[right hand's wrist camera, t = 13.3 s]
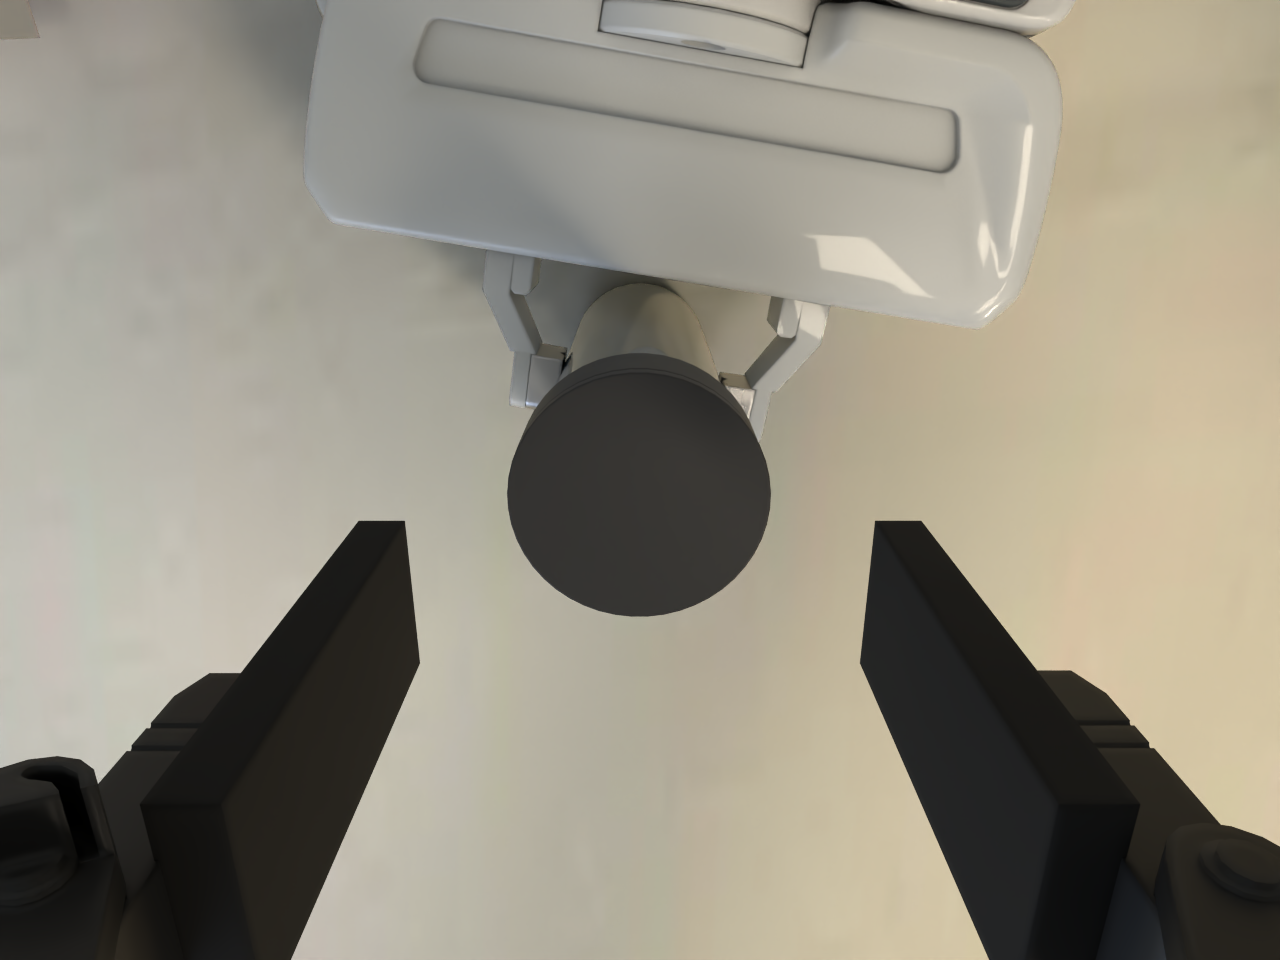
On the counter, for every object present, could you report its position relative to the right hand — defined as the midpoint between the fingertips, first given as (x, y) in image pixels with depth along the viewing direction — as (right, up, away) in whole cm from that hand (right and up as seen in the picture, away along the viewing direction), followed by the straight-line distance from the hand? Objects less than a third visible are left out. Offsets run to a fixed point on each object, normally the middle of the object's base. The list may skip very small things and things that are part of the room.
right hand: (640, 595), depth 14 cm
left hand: (0, +4, +13) cm, 13 cm away
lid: (0, +2, +4) cm, 4 cm away
